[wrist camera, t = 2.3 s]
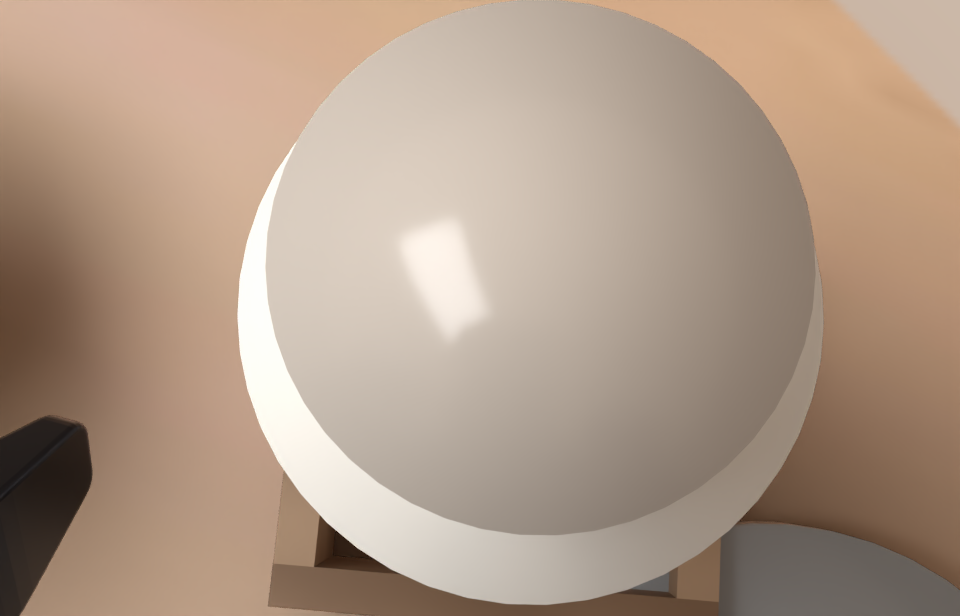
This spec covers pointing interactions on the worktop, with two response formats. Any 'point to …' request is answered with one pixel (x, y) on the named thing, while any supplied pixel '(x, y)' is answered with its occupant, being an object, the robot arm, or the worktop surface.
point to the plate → (819, 576)
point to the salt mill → (533, 304)
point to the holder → (432, 612)
